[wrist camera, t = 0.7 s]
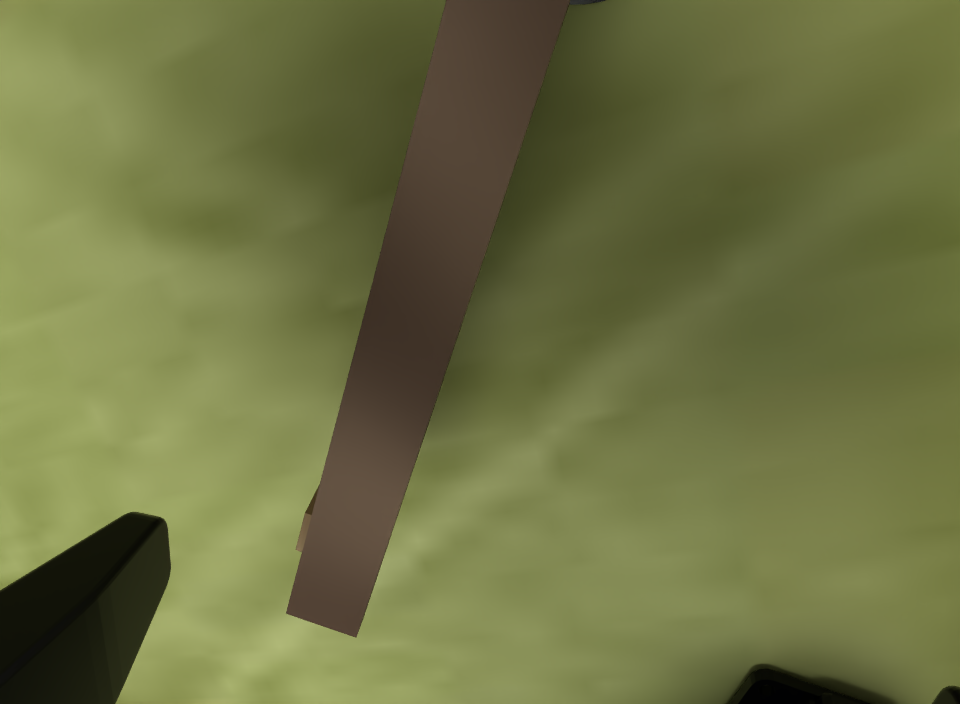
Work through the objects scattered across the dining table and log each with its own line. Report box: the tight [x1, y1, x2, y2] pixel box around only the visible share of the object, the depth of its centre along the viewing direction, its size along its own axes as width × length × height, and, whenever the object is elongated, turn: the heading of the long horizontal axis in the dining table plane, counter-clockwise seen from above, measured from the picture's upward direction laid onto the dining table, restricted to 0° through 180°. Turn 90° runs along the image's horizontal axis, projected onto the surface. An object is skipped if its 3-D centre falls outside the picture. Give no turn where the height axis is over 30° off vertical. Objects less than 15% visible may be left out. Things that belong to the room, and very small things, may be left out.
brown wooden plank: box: [286, 0, 570, 637], centre depth 18 cm, size 14×2×6 cm, turn 163°
